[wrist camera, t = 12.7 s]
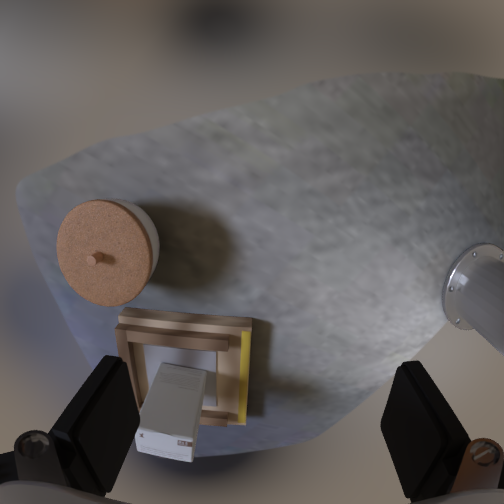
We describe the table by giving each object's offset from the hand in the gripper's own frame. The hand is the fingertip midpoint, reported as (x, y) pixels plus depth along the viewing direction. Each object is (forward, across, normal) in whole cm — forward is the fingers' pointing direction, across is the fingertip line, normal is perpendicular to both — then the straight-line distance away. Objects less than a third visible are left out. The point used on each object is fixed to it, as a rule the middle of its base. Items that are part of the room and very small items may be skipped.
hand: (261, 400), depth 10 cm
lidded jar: (+27, +16, +1) cm, 31 cm away
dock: (+27, +10, +18) cm, 33 cm away
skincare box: (+24, +10, +18) cm, 31 cm away
